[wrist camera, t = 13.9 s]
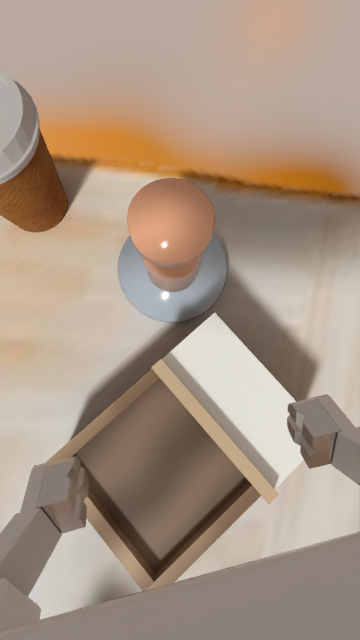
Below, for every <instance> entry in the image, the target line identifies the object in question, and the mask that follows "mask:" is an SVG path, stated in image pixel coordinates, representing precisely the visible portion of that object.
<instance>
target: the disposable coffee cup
mask: <svg viewBox="0 0 360 640" xmlns="http://www.w3.org/2000/svg"><path fill="white" fill-rule="evenodd" d="M67 206H68V203H67V197H66V193H65V191H64V189H63V186H62V184H61V181H60V179H59V176H58V174H57V171H56V169H55V166H54V164H53V161H52V159H51V156H50V154H49V151H48V149H47V146H46V144H45V141H44V139H43V136H42V134H41V132H40V129H39V118H38V113H37V109H36V106H35V104H34V102H33V100H32V98H31V96H30V95H29V94H28V92H27V91H26V90H25V89H24V88H23V87H22V86H21V85H20V84H19V83H17V82H16V81H14V80H13V79H12V78H11V77H10V76H9V75H8V74H7V73H5V71H3V70H1V69H0V215H1V216H3V217H4V218H6V219H7V220H9V221H11V222H12V223H14V224H15V225H17V226H18V227H20V228H22V229H23V230H26V231H29V232H43V231H46V230H49V229H51V228H53V227H55V226H56V225H57V224H58V223H59V222H60V221H61V220H62V219H63V217H64V215H65V213H66V210H67Z"/></svg>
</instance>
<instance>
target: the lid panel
mask: <svg viewBox="0 0 360 640" xmlns="http://www.w3.org/2000/svg"><path fill="white" fill-rule="evenodd" d="M151 368H152V369H153V370H154V372H155V373H156V374H157V375H158V376H159V377H160V379H161V380H162V381H163V382H164V383H165V384H166V385H167V387H168V388H169V389H170V390H171V391H172V392H173V394H174V395H175V396H176V397H177V398H178V399H179V401H180V402H181V403H182V404H183V405H184V406H185V408H186V409H187V410H188V411H189V412H190V413H191V415H192V416H193V417H194V418H195V419H196V420H197V421H198V423H199V424H200V425H201V426H202V427H203V428H204V430H205V431H206V432H207V433H208V434H209V435H210V437H211V438H212V439H213V440H214V441H215V442H216V444H217V445H218V446H219V447H220V448H221V449H222V451H223V452H224V453H225V454H226V455H227V456H228V458H229V459H230V460H231V461H232V462H233V463H234V464H235V466H236V467H237V468H238V469H239V470H240V471H241V473H242V474H243V475H244V476H245V477H246V478H247V480H248V481H249V482H250V483H251V484H252V485H253V487H254V488H255V489H256V490H257V491H258V492H259V494H260V495H261V496H262V497H263V498H264V499H265V500H266V502H267V503H268V504H270V503H271V502H272V501H273V500H274V499H275V498H276V497H277V496H278V495H279V494H278V493H277V492H276V490H275V488H276V487H277V486H278V485H279V484H280V483H281V482H282V481H283V480H284V479H285V478H286V477H287V476H288V475H289V474H290V473H291V472H292V471H293V470H294V469H295V468H296V467H297V466H298V465H299V464H300V463H301V462H302V461H303V460H304V459H303V457H302V455H301V453H300V448H301V446H299V445H298V444H296V443H294V441H293V439H292V437H291V435H290V433H289V430H288V426H287V418H288V416H289V415H290V414H289V412H288V405H289V403H293V402H296V401H295V399H294V398H293V397H292V396H291V395H290V394H289V393H288V392H287V391H286V390H285V389H284V387H283V386H282V385H281V384H280V383H279V382H278V381H277V380H276V379H275V378H274V377H273V375H272V374H271V373H270V372H269V371H268V370H267V369H266V368H265V367H264V366H263V364H262V363H261V362H260V361H259V360H258V359H257V358H256V357H255V356H254V355H253V354H252V352H251V351H250V350H249V349H248V348H247V347H246V346H245V345H244V344H243V343H242V342H241V340H240V339H239V338H238V337H237V336H236V335H235V334H234V333H233V332H232V331H231V330H230V328H229V327H228V326H227V325H226V324H225V323H224V322H223V321H222V320H221V319H220V318H219V316H218V315H217V314H216V313H215V312H214V313H213V314H212V315H211V316H210V317H209V318H208V319H207V320H205V321H204V322H203V323H202V324H201V325H200V326H199V327H197V328H196V329H195V330H194V331H193V332H192V333H191V334H190V335H188V336H187V337H186V338H185V339H184V340H183V341H182V342H180V343H179V344H178V345H177V346H176V347H175V348H174V349H173V350H171V351H170V352H169V353H168V354H167V355H166V356H165V357H164V358H162V359H160V360H159V361H158V362H157V363H156V364H154V365H153V366H152V367H151Z"/></svg>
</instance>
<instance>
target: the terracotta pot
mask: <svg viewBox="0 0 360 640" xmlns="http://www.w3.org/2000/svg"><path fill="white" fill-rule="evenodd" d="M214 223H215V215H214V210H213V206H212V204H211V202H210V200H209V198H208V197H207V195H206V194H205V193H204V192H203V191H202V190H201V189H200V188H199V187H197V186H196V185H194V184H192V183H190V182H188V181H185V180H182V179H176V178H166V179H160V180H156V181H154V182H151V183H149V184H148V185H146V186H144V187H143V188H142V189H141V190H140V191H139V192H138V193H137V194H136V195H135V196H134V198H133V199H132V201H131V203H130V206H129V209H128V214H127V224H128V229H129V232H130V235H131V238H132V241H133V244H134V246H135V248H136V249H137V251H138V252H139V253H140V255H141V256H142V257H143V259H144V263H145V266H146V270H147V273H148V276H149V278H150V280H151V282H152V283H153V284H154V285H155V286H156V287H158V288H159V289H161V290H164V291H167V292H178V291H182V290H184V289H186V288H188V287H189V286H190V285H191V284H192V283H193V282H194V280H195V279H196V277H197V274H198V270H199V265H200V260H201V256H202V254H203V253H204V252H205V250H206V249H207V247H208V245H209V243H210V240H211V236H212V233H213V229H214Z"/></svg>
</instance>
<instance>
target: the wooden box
mask: <svg viewBox="0 0 360 640" xmlns="http://www.w3.org/2000/svg"><path fill="white" fill-rule="evenodd" d="M75 456H78V458H79V460H80V467H83V468H85V470H86V472H87V476H88V482H89V492H88V496H87V497H86V499H85V500H84V503H85V504H86V506H87V514H86V518H87V519H88V521H89V522H90V523H91V524H92V526H93V527H94V528H95V530H96V531H97V532H98V534H99V535H100V536H101V537H102V539H103V540H104V541H105V543H106V544H107V545H108V546H109V548H110V549H111V550H112V552H113V553H114V554H115V556H116V557H117V558H118V559H119V561H120V562H121V563H122V565H123V566H124V567H125V568H126V570H127V571H128V572H129V574H130V575H131V576H132V578H133V579H134V580H135V581H136V583H137V584H138V585H139V587H140V588H141V589H142V590H143V591H146V590H149V589H153V588H157V587H160V586H164V585H168V584H171V583H174V582H175V581H176V580H177V579H178V578H179V577H180V576H181V575H182V574H183V573H184V572H185V571H186V570H187V569H188V568H189V567H190V566H191V565H192V564H193V563H194V562H195V561H196V560H197V559H198V558H199V557H200V556H201V555H202V554H203V553H204V552H205V551H206V550H207V549H208V548H209V547H210V546H211V545H212V544H213V543H214V542H215V541H216V540H217V539H218V538H219V537H220V536H221V535H222V534H223V533H224V532H225V531H226V530H227V529H228V528H229V527H230V526H231V525H232V524H233V523H234V522H235V521H236V520H237V519H238V518H239V517H240V516H241V515H242V514H243V513H244V512H245V511H246V510H247V509H248V508H249V507H250V506H251V505H252V504H253V503H254V502H255V501H256V500H257V499H258V498H259V497H260V496H261V495H260V494H259V492H258V491H257V490H256V489H255V488H254V487H253V485H252V484H251V483H250V482H249V481H248V480H247V478H246V477H245V476H244V475H243V474H242V473H241V471H240V470H239V469H238V468H237V467H236V466H235V464H234V463H233V462H232V461H231V460H230V459H229V458H228V456H227V455H226V454H225V453H224V452H223V451H222V449H221V448H220V447H219V446H218V445H217V444H216V442H215V441H214V440H213V439H212V438H211V437H210V435H209V434H208V433H207V432H206V431H205V430H204V428H203V427H202V426H201V425H200V424H199V423H198V421H197V420H196V419H195V418H194V417H193V416H192V415H191V413H190V412H189V411H188V410H187V409H186V408H185V406H184V405H183V404H182V403H181V402H180V401H179V399H178V398H177V397H176V396H175V395H174V394H173V392H172V391H171V390H170V389H169V388H168V387H167V385H166V384H165V383H164V382H163V381H162V380H161V379H160V377H159V376H158V375H157V374H156V373H155V372H154V370H153V369H151V370H150V371H149V372H147V373H146V374H145V375H144V376H143V377H142V378H141V379H139V380H138V381H137V382H136V383H135V384H134V385H133V386H132V387H130V388H129V389H128V390H127V391H126V392H125V393H124V394H123V395H121V396H120V397H119V398H118V399H117V400H116V401H115V402H113V403H112V404H111V405H110V406H109V407H108V408H107V409H106V410H104V411H103V412H102V413H101V414H100V415H99V416H98V417H97V418H95V419H94V420H93V421H92V422H91V423H90V424H89V425H87V426H86V427H85V428H84V429H83V430H82V431H81V432H80V433H78V434H77V435H76V436H75V437H74V438H73V439H72V440H70V441H69V442H68V443H67V444H66V445H65V446H64V447H63V448H61V449H60V450H59V451H58V452H57V453H56V454H55V455H54V456H52V457H51V458H50V459H49V460H48V461H47V462H46V463H48V462H52V461H57V460H61V459H66V458H70V457H75Z"/></svg>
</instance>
